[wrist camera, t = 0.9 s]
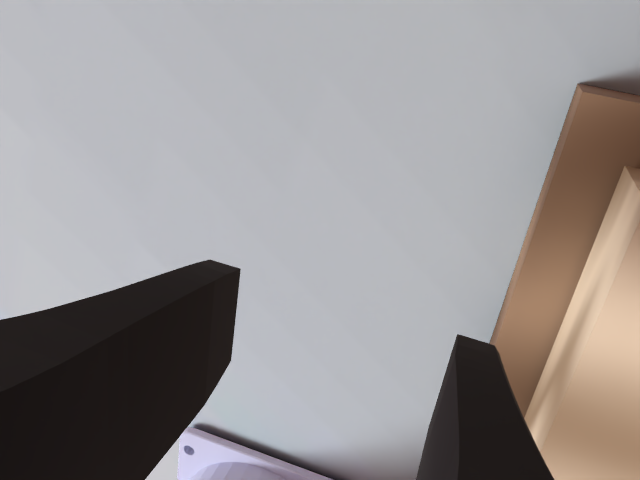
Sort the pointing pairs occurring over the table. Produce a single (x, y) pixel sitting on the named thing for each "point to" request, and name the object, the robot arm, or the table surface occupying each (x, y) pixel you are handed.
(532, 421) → the folding leg
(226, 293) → the robot arm
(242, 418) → the table surface
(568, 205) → the stool seat
